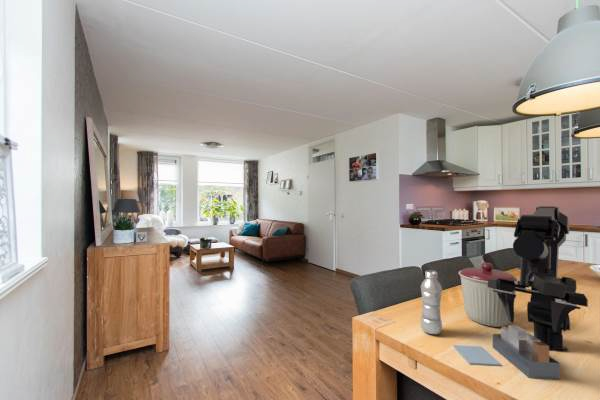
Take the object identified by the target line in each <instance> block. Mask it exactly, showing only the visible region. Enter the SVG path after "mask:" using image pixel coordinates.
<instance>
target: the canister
mask: <svg viewBox="0 0 600 400" xmlns="http://www.w3.org/2000/svg"><path fill="white" fill-rule="evenodd" d="M458 275H459V276H460V283H461V291H462V298H463V299H462V300H463V305H464V310H465V314H466V315H467V317H468V318H469V319H470V320H472V321H474V322H475V323H478V324H481V325H484V326H488V327H494V328H502V326H503V325H506V326H509V325H510V323H511V322H510V321H509V319H508V316H507V314H506V311H505V309H504V306H503V304H502V302H501V300H500V298H499V296H498V294H497V293H496V292H493V290H496V289H493V288H489V287H488V280H489V279H490V278H491V277H492V278H498V279H504V280H509V281H514V283H515V284H517V282H518V281H520V278H518V277H516V276H514V275H513V274H511V272H510V273H509V272H506V271H504V270H500V269H499V270H498V269H494V265H493V264H492V263H490V262H483V263H481V265H480V267H466V268H463V269H461V270H459V271H458ZM516 292H517V291H513V294H515V295H516ZM515 299H516V298H515ZM515 299H514V301H515Z"/></svg>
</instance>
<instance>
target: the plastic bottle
mask: <svg viewBox="0 0 600 400" xmlns="http://www.w3.org/2000/svg"><path fill="white" fill-rule="evenodd" d="M424 273H425V275H424V277H425V279H424V280H422V283H421V284H420V290H421V302H422V310H421V311H422V312H421V316H420V317H421V318H420V327H421V329H422V332H423V331H424V333H427V334H428V335H440V333H442V329H443V323H442V318H441V301H442V294H443V288H442V285H441V283H440V282H439V280H438V278H439V277H438V272H437V271H436V270H430V269H429V270H427V269H426V270H425V271H424Z"/></svg>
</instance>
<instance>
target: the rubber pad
mask: <svg viewBox="0 0 600 400" xmlns="http://www.w3.org/2000/svg"><path fill="white" fill-rule="evenodd" d="M452 347H453V348H454V349H455V350H456V352H458V354H459V355H461V357H462V358H463V359H464V360H465V361H466V362H467V363H468V364H469V365H477V366H497V367H502V363H500V361H499V360H497V359H496V358H495V357H494V356H493V355H491V354H490V353H489V352H488V350H486V349H485V348H484V347H483V346H480V345H460V344H457V345H456V344H453V345H452Z"/></svg>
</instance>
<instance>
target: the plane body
mask: <svg viewBox="0 0 600 400" xmlns="http://www.w3.org/2000/svg"><path fill="white" fill-rule="evenodd" d="M501 328H509V325H507V326H506V325H503V326H502V327H501ZM492 348H493V349H494V350H495V351H496V352H498V354H500V355H501V356H502V357H504V358H505V359H506V360H507V361H508V362H509V363H511V364H512V365H513V366H514V367H515V368H516V369H517V370H519V371H520V372H522V373H523V374H524V375H525V376H526V377H527V378H529V379H546V380H547V379H548V380H560V362H558V361H557V360H556V359H554V358H553V357H552V356H550V350H549V345H547V344H545V343H544V342H539V341H532V352H520V351H517V350H516V349H515V348H514V347H512V346H511V345H510V344H508V343H507V342H506V341H504V340H503V339H502V338H501V333H492Z"/></svg>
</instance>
